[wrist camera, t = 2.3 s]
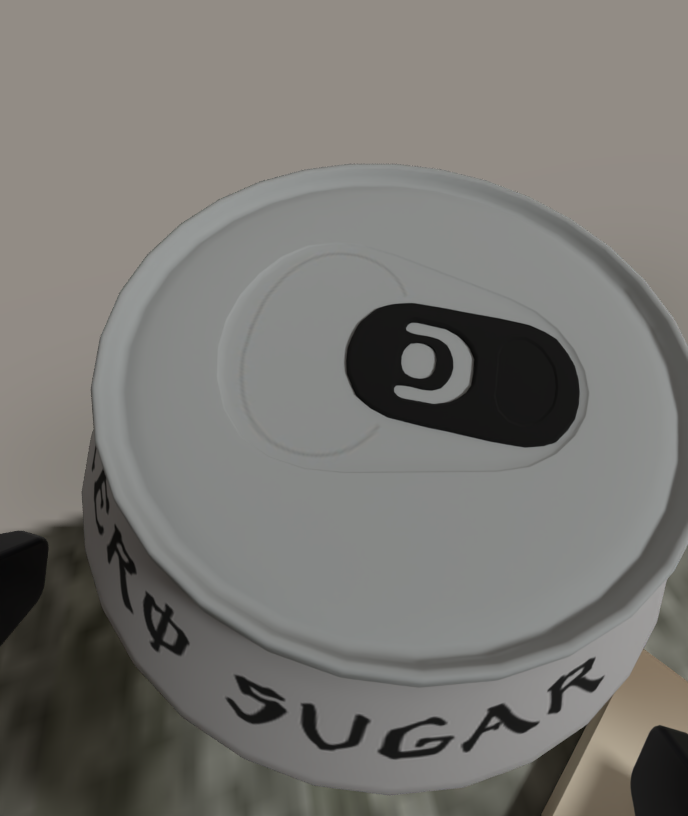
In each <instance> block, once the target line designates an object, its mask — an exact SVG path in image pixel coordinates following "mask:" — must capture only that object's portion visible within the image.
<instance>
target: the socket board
mask: <svg viewBox="0 0 688 816" xmlns="http://www.w3.org/2000/svg"><path fill="white" fill-rule="evenodd" d="M658 725H662V726H665V727H669V728H672V729H675V730H679V731H682V732H685V733H687V734H688V682H687V681H686V680H685V679H683V678H682V677H681V676H679V675H678V674H677V673H675V672H674V671H673V670H671V669H670V668H669V667H667V666H666V665H665V664H663V663H662V662H661V661H659V660H658V659H657V658H655V657H654V656H653V655H651V654H650V653H648V652H647V651H646V650H644V649H643V650H642V652H641V654H640V656H639V658H638V660H637V662H636V664H635V666H634V668H633V670H632V672H631V674H630V676H629V677H628V678H627V679H626V680H625V682H624V683H623V684H622V685H621V686H620V687H619V688H618V690H617V691H616V692H615V693H614V694H613V695H612V696H611V698H610V699H609V700H608V701H607V702H606V703H605V705H604V706H603V707H602V708H601V709H600V710H599V711H598V713H597V714H596V715H595V716H594V717H593V718H592V719H591V721H590V722H589V723H588V724H587V726H586V728H585V730H584V732H583V734H582V736H581V738H580V740H579V741H578V743H577V745H576V747H575V749H574V751H573V753H572V755H571V757H570V759H569V761H568V763H567V765H566V767H565V769H564V771H563V773H562V775H561V777H560V779H559V781H558V783H557V785H556V787H555V789H554V791H553V793H552V795H551V796H550V798H549V800H548V802H547V804H546V806H545V808H544V810H543V812H542V814H541V816H635V812H634V806H633V801H632V796H631V788H630V781H631V774H632V771H633V768H634V766H635V763H636V761H637V759H638V757H639V754H640V752H641V750H642V748H643V745H644V743H645V741H646V738H647V736H648V734H649V732H650V731H651V729H652V728H653V727H655V726H658Z"/></svg>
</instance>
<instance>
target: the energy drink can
mask: <svg viewBox="0 0 688 816" xmlns="http://www.w3.org/2000/svg"><path fill="white" fill-rule="evenodd" d="M91 397H92V410H93V423H94V424H93V425H94V430H93V432H92V436H91V440H90V446H89V452H88V458H87V464H86V470H85V476H84V482H83V488H82V503H83V522H84V540H85V551H86V554H87V558H88V561H89V565H90V568H91V571H92V575H93V578H94V582H95V585H96V589H97V592H98V596H99V599H100V602H101V606H102V609H103V610H104V612H105V614H106V616H107V618H108V619H109V621H110V623H111V625H112V626H113V628H114V630H115V632H116V633H117V635H118V637H119V639H120V641H121V642H122V644H123V646H124V648H125V649H126V651H127V653H128V655H129V656H130V658H131V660H132V662H133V663H134V665H135V666H136V667H137V669H138V670H139V671H140V672H141V673H142V674H143V675H144V676H145V677H146V678H147V679H148V681H149V682H150V683H151V684H152V685H153V686H154V687H155V688H156V689H157V690H158V691H159V692H160V694H161V695H162V696H163V697H164V698H165V699H166V700H167V701H168V702H169V703H170V704H171V706H172V707H173V708H174V709H175V710H176V711H177V712H178V713H179V714H180V715H181V716H182V717H183V718H184V719H186V720H187V721H189V722H190V723H192V724H193V725H195V726H196V727H198V728H199V729H200V730H202V731H203V732H205V733H206V734H208V735H209V736H211V737H212V738H214V739H215V740H217V741H218V742H220V743H221V744H223V745H224V746H226V747H227V748H229V749H230V750H232V751H233V752H235V753H236V754H237V755H239V756H240V757H242V758H244V759H246V760H249V761H251V762H254V763H257V764H259V765H262V766H264V767H267V768H270V769H272V770H275V771H278V772H280V773H283V774H285V775H288V776H291V777H293V778H296V779H298V780H301V781H304V782H306V783H309V784H311V785H314V786H322V787H329V788H337V789H345V790H353V791H360V792H368V793H376V794H383V795H398V794H407V793H416V792H426V791H435V790H444V789H454V788H463V787H466V786H469V785H472V784H475V783H477V782H480V781H483V780H485V779H488V778H491V777H494V776H496V775H499V774H502V773H504V772H507V771H510V770H513V769H515V768H518V767H521V766H523V765H526V764H529V763H531V762H533V761H534V760H536V759H537V758H539V757H540V756H542V755H543V754H545V753H546V752H548V751H549V750H550V749H552V748H553V747H555V746H556V745H558V744H559V743H561V742H562V741H564V740H565V739H566V738H568V737H569V736H571V735H572V734H574V733H575V732H577V731H578V730H580V729H581V728H583V727H584V726H585V725H587V724H588V723H589V722H590V721H591V719H592V718H593V717H594V716H595V715H596V714H597V713H598V711H599V710H600V709H601V708H602V707H603V706H604V705H605V703H606V702H607V701H608V700H609V699H610V698H611V696H612V695H613V694H614V693H615V692H616V691H617V690H618V688H619V687H620V686H621V685H622V684H623V683H624V682H625V680H626V679H627V678H628V677H629V676H630V674H631V672H632V670H633V668H634V666H635V664H636V662H637V660H638V658H639V656H640V654H641V652H642V650H643V648H644V646H645V644H646V642H647V640H648V638H649V636H650V634H651V632H652V630H653V629H654V627H655V625H656V623H657V619H658V615H659V611H660V606H661V602H662V598H663V593H664V589H665V585H666V581H667V578H668V577H669V576H670V575H671V574H672V573H673V572H674V570H675V568H676V566H677V565H678V563H679V561H680V559H681V557H682V555H683V553H684V551H685V549H686V547H687V545H688V345H687V343H686V341H685V339H684V337H683V335H682V333H681V331H680V329H679V327H678V325H677V324H676V322H675V319H674V318H673V317H672V316H671V314H670V313H669V312H668V310H667V309H666V308H665V306H664V305H663V304H662V302H661V301H660V300H659V298H658V297H657V296H656V294H655V293H654V292H653V291H652V289H651V288H650V286H649V285H648V284H647V283H646V281H645V280H644V279H643V278H642V277H641V276H640V275H639V274H638V273H637V272H636V271H635V270H634V269H633V268H631V267H630V266H629V265H628V264H627V263H626V262H625V261H624V260H623V259H622V258H621V257H620V256H619V255H618V254H617V253H616V252H615V251H614V250H613V249H612V248H611V247H609V246H608V245H607V244H605V243H604V242H602V241H601V240H600V239H598V238H597V237H595V236H594V235H593V234H591V233H590V232H588V231H587V230H585V229H584V228H583V227H581V226H580V225H579V224H577V223H576V222H574V221H573V220H571V219H570V218H568V217H566V216H564V215H562V214H560V213H559V212H557V211H555V210H553V209H551V208H549V207H547V206H545V205H544V204H541V203H540V202H538V201H536V200H534V199H532V198H530V197H528V196H526V195H523V194H520V193H518V192H515V191H512V190H510V189H507V188H504V187H502V186H499V185H496V184H494V183H491V182H488V181H486V180H482V179H478V178H473V177H470V176H466V175H462V174H457V173H453V172H449V171H445V170H441V169H433V168H425V167H416V166H409V165H401V164H345V165H337V166H330V167H321V168H314V169H307V170H302V171H298V172H294V173H290V174H287V175H283V176H279V177H275V178H272V179H268V180H264V181H261V182H258V183H256V184H254V185H251V186H249V187H247V188H244V189H242V190H240V191H237V192H235V193H233V194H231V195H228V196H226V197H223V198H221V199H219V200H217V201H216V202H214V203H213V204H211V205H210V206H208V207H206V208H205V209H203V210H202V211H200V212H199V213H197V214H195V215H194V216H192V217H191V218H189V219H188V220H186V221H184V222H183V223H181V224H180V225H179V226H178V227H177V228H176V229H175V230H173V231H172V232H171V233H170V234H169V235H168V236H167V237H166V238H165V239H164V240H163V241H162V242H160V243H159V244H158V245H157V246H156V247H155V248H154V249H153V250H152V251H151V252H150V253H149V254H148V255H147V256H146V257H145V259H144V260H143V261H142V263H141V264H140V265H139V267H138V268H137V270H136V271H135V272H134V274H133V275H132V276H131V278H130V279H129V280H128V282H127V283H126V284H125V286H124V287H123V289H122V290H121V292H120V293H119V295H118V298H117V300H116V302H115V305H114V307H113V309H112V312H111V314H110V316H109V318H108V321H107V323H106V325H105V328H104V330H103V332H102V334H101V337H100V341H99V346H98V351H97V358H96V363H95V369H94V374H93V380H92V385H91Z"/></svg>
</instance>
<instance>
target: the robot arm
mask: <svg viewBox="0 0 688 816" xmlns="http://www.w3.org/2000/svg"><path fill="white" fill-rule="evenodd" d="M47 558H48V542H47V540H46V539H45V538H44V537H41V536H38V535H35V534H32V533H28V532H25V531H14V532H9V533H3V534H0V646H1V645H2V644H3V643H4V641H5V640H6V639H7V638H8V637H9V635H10V634H11V633H12V632H13V631H14V629H15V628H16V627H17V626H18V624H19V623H20V622H21V621H22V620H23V618H24V617H25V616H26V615H27V614H28V612H29V611H30V610H31V609H32V608H33V606H34V605H35V604H36V603H37V601H38V600H39V598H40V596H41V594H42V591H43V588H44V583H45V575H46V566H47ZM630 788H631V796H632V801H633V806H634V812H635V816H688V734H687V733H685V732H682V731H679V730H675V729H672V728H669V727H665V726H662V725H658V726H655V727H653V728H652V729H651V731H650V732H649V734H648V736H647V738H646V741H645V743H644V745H643V748H642V750H641V752H640V754H639V757H638V759H637V761H636V763H635V766H634V768H633V771H632V774H631V781H630Z"/></svg>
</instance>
